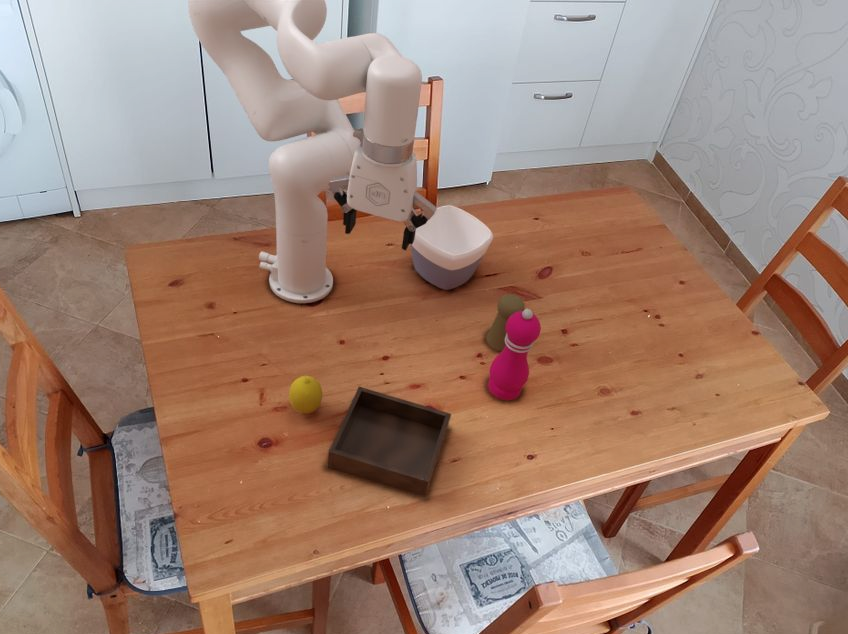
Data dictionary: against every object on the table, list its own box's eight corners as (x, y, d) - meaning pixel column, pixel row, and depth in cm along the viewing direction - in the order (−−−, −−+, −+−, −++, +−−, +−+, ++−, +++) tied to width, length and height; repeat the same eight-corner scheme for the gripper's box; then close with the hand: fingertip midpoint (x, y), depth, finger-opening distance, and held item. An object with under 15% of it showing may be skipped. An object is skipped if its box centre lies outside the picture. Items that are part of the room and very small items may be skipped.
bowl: (493, 274, 159) (503, 234, 151) (446, 305, 150) (454, 263, 142) (441, 239, 165) (449, 198, 157) (393, 266, 156) (398, 224, 148)
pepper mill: (497, 407, 133) (521, 329, 118) (478, 378, 137) (499, 300, 123) (530, 396, 136) (557, 320, 121) (510, 369, 140) (535, 292, 126)
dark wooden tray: (327, 467, 118) (328, 451, 115) (357, 402, 129) (358, 386, 126) (425, 496, 117) (428, 482, 114) (447, 429, 128) (451, 413, 124)
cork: (513, 355, 143) (526, 314, 135) (483, 347, 143) (494, 306, 135) (518, 334, 147) (530, 294, 139) (489, 326, 147) (499, 286, 139)
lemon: (327, 404, 127) (328, 374, 122) (312, 427, 123) (313, 396, 118) (298, 393, 128) (298, 362, 122) (283, 415, 124) (282, 384, 119)
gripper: (322, 141, 105) (319, 236, 117) (437, 172, 104) (422, 265, 116) (340, 117, 110) (336, 210, 123) (450, 147, 109) (434, 238, 121)
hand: (378, 237), depth 119 cm, fingers open, 9 cm apart
